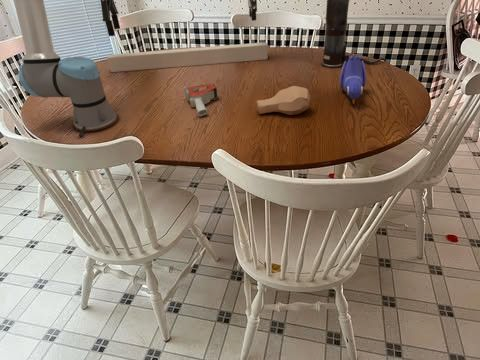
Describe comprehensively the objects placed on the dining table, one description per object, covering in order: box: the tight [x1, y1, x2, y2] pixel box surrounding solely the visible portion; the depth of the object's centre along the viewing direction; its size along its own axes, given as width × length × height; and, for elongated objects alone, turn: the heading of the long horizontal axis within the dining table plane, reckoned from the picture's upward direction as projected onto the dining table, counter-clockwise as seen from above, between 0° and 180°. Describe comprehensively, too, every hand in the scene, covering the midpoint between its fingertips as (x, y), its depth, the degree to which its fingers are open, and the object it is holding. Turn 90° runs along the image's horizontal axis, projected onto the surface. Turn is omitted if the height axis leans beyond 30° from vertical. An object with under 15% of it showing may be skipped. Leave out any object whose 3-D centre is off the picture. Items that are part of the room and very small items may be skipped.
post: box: [106, 41, 269, 73], centre depth 181 cm, size 80×5×7 cm, turn 95°
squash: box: [255, 85, 312, 116], centre depth 130 cm, size 11×20×9 cm, turn 92°
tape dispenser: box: [183, 82, 218, 117], centre depth 140 cm, size 18×5×20 cm
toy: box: [339, 55, 367, 105], centre depth 136 cm, size 10×17×25 cm
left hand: (114, 32), depth 171 cm, fingers open, 13 cm apart
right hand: (252, 18), depth 173 cm, fingers open, 8 cm apart
